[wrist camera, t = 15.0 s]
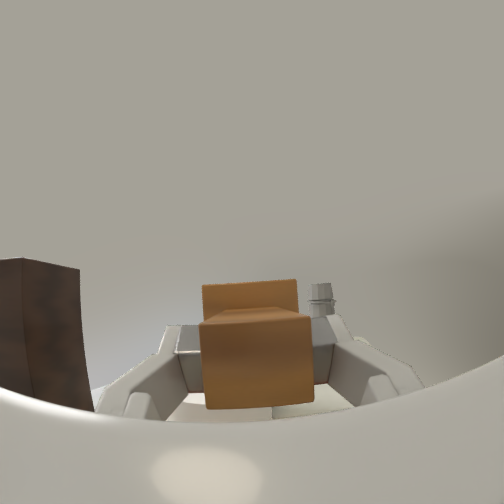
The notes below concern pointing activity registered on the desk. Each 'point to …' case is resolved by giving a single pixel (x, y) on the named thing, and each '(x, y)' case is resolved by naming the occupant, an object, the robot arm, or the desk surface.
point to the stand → (42, 333)
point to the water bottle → (320, 300)
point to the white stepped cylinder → (215, 412)
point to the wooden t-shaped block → (255, 346)
